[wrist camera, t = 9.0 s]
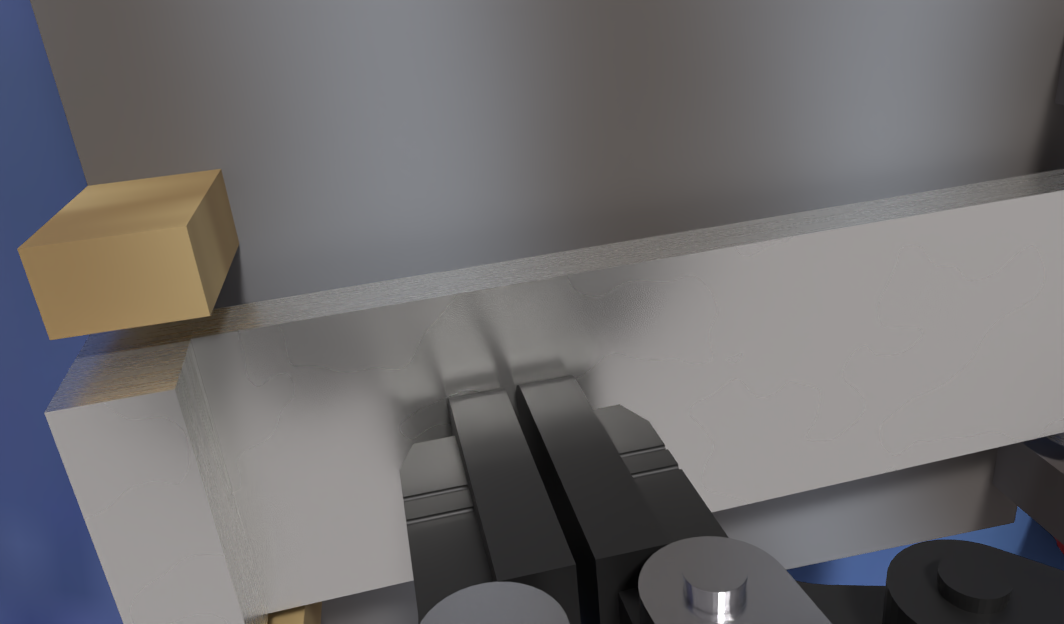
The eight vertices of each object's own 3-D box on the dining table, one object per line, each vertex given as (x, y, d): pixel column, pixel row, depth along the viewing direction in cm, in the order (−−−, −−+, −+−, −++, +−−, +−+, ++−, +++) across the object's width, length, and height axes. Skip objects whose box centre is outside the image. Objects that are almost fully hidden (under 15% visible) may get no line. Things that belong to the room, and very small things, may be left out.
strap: (1140, 124, 12) (1295, 157, 11) (1082, 406, 14) (1202, 479, 12) (87, 292, 10) (30, 375, 8) (190, 605, 12) (166, 734, 10)
